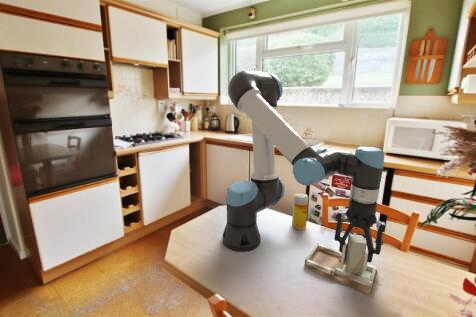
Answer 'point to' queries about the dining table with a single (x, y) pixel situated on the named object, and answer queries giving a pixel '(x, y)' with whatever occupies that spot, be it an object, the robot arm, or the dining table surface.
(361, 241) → the box
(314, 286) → the dining table surface
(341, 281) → the shallow beige tray
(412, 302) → the dining table surface
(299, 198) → the glass of beer
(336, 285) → the dining table surface
